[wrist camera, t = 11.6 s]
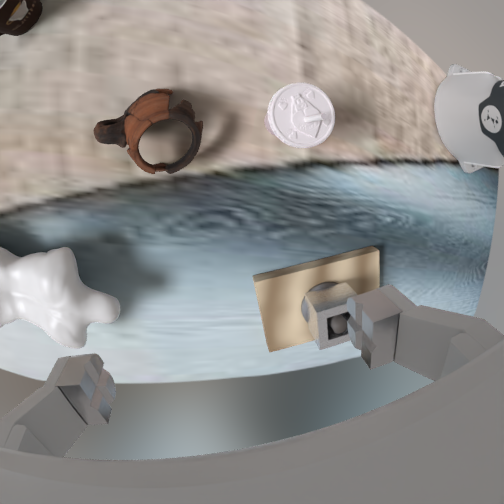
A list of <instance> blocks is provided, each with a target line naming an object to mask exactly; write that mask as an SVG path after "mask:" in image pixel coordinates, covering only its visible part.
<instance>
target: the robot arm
mask: <svg viewBox="0 0 504 504" xmlns="http://www.w3.org/2000/svg"><path fill="white" fill-rule="evenodd" d="M434 112H435V120H436V125H437V129H438V132H439V135H440V137H441V139H442V141H443V143H444V145H445V147H446V148H447V149H448V151H449V152H450V153H451V154H452V155H453V156H454V157H456V158H457V160H458V161H459V163H460V165H461V167H462V169H463V171H464V172H465V173H472V172H474V171H476V170H478V169H480V168H482V167H484V166H486V167H492V168H500V167H501V166H503V165H504V80H502V78H501V77H498V76H494V74H492V73H489V72H472V71H470V70H468V69H466V68H464V67H461V66H459V65H457V64H452V65H451V66H450V67H449V71H448V75H447V77H446V78H445V79H444V80H443V81H442V83H441V84H440V85H439V87H438V89H437V92H436V96H435V104H434ZM347 310H348V312H349V313H350V314H351V316H350V318H349V319H348V321H347V326H348V333H349V337H350V340H351V342H352V344H353V345H354V347H355V348H357V349H359V350H361V357H362V358H363V360H364V361H365V363H366V364H367V365H368V367H369V368H370V369H373V368H376V367H379V366H382V365H384V364H387V363H390V362H392V361H394V362H396V363H397V364H399V365H402V366H404V367H406V368H408V369H410V370H412V371H414V372H416V373H419V374H421V375H423V376H425V377H427V378H429V379H432V380H434V381H435V382H433V383H431V384H429V385H427V386H425V387H423V388H421V389H419V390H417V391H415V392H413V393H411V394H409V395H406V396H404V397H402V398H400V399H398V400H396V401H393V402H391V403H389V404H387V405H384V406H382V407H379V408H377V409H374V410H372V411H370V412H367V413H365V414H362V415H359V416H357V417H354V418H351V419H349V420H346V421H343V422H340V423H337V424H334V425H331V426H328V427H325V428H322V429H319V430H315V431H312V432H309V433H305V434H302V435H298V436H295V437H291V438H287V439H284V440H279V441H275V442H271V443H266V444H262V445H257V446H252V447H247V448H242V449H237V450H232V451H225V452H219V453H212V454H205V455H197V456H188V457H178V458H166V459H148V460H94V459H78V458H65V457H64V456H65V454H66V453H67V452H68V450H69V449H70V448H71V447H72V445H73V444H74V443H75V441H76V440H77V439H78V438H79V436H80V435H81V434H82V433H83V431H84V430H85V429H86V428H87V425H98V424H108V423H109V418H110V414H111V410H112V409H111V407H110V405H109V404H110V403H111V402H112V401H113V400H114V399H115V394H116V390H115V383H114V380H113V378H112V376H111V375H110V373H109V372H107V371H106V370H104V369H103V364H104V363H103V361H102V359H101V358H100V356H99V355H97V354H85V355H76V356H66V357H61V358H58V360H57V362H56V363H55V365H54V367H53V369H52V371H51V373H50V375H49V377H48V379H47V381H46V383H45V384H44V387H40V388H39V389H37V390H36V391H35V392H34V393H32V394H31V395H30V396H29V397H27V398H26V399H25V400H24V401H22V402H21V403H20V404H19V405H17V406H16V407H15V408H14V409H13V410H11V411H10V412H9V413H8V414H6V415H5V416H4V417H3V418H1V419H0V504H504V335H503V334H502V333H500V332H499V331H498V330H497V329H495V328H494V327H493V326H492V325H491V324H489V323H488V322H487V321H486V320H484V319H480V318H477V317H472V316H467V315H463V314H458V313H454V312H449V311H445V310H440V309H436V308H432V307H427V306H423V305H420V306H418V307H417V306H416V305H415V304H414V303H413V302H412V301H410V300H409V299H408V298H407V297H406V296H404V295H403V294H402V293H401V292H400V291H399V290H397V289H396V288H395V287H394V286H393V285H390V284H388V285H385V286H382V287H380V288H377V289H375V290H372V291H369V292H366V293H363V294H360V295H357V296H354V297H350V298H348V300H347Z"/></svg>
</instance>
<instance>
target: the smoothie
mask: <svg viewBox="0 0 504 504" xmlns="http://www.w3.org/2000/svg"><path fill="white" fill-rule="evenodd" d="M264 122H265V126H266V129H267V130H268V131H269V132H270V133H271V134H273V135H275V136H277V137H278V138H279V139H280V140H281V141H282V142H284V143H286V144H288V145H289V146H293V147H297V148H308V147H313V146H316V145H318V144H320V143H322V142H323V141H325V140H326V139H327V138H328V137H329V135H330V134H331V132H332V130H333V127H334V124H335V111H334V107H333V104H332V102H331V100H330V99H329V97H328V96H327V95H326V94H325V93H324V92H323V91H322V90H321V89H320V88H318V87H316V86H314V85H312V84H308V83H293V84H289V85H286V86H285V87H283V88H281V89H279V90H278V91H277V92H276V93H275V94H274V95H273V97H272V99H271V101H270V103H269V107H268V112H267V114H266V116H265V120H264Z"/></svg>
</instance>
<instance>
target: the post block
mask: <svg viewBox="0 0 504 504" xmlns="http://www.w3.org/2000/svg"><path fill="white" fill-rule="evenodd" d="M253 281H254V286H255V290H256V295H257V300H258V304H259V309H260V314H261V318H262V323H263V328H264V332H265V337H266V342H267V346H268V349H269V352H273V351H277V350H280V349H284V348H288V347H292V346H295V345H299V344H303V343H306V342H310V341H313V340H314V338H313V336H312V334H311V332H310V331H309V328H308V319H307V310H306V302H305V294H304V293H308V292H311V291H315V290H319V289H322V288H326V287H330V286H333V285H337V284H340V283H344V282H346V283H347V284H348V285H349V286H350V287H351V288H352V289H353V290H354V291H355V292H356V294H357V295H360V294H363V293H366V292H369V291H372V290H375V289H377V288H379V250H378V249H376V248H375V247H373V246H370V247H366V248H362V249H358V250H354V251H351V252H347V253H343V254H339V255H335V256H331V257H327V258H323V259H319V260H315V261H311V262H307V263H303V264H299V265H295V266H291V267H287V268H283V269H279V270H275V271H270V272H266V273H262V274H258V275H254V276H253ZM327 321H328V323H329V324H330V326H331V327H332V329H333V330H334V332H335V333H342V332H344V331H345V330H346V329H347V327H348V326H347V321H346V320H345V318H344V317H343V316H342V314H339V315H335V316H332V317H329V318H327Z"/></svg>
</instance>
